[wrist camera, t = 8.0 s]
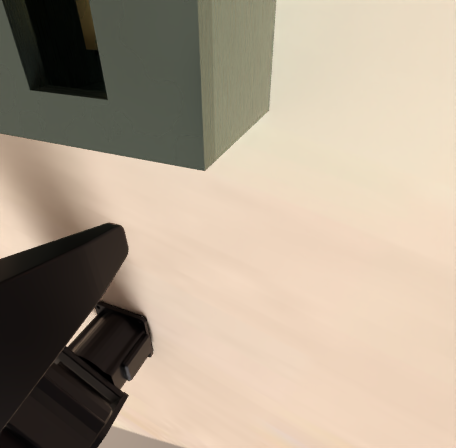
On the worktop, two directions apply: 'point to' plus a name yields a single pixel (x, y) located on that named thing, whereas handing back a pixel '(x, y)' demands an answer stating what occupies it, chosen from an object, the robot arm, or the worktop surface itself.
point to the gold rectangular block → (87, 24)
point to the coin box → (137, 75)
